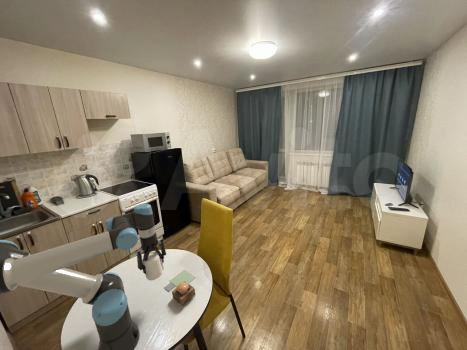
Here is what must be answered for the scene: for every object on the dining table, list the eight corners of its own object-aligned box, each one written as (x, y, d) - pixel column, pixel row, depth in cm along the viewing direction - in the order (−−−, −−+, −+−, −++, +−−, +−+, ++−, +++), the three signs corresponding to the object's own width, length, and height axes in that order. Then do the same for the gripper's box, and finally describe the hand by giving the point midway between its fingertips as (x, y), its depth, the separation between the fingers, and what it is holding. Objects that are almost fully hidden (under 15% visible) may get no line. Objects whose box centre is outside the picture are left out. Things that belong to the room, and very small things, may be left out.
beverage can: (165, 269, 104) (161, 250, 101) (158, 281, 97) (153, 262, 93) (151, 268, 105) (146, 250, 102) (143, 281, 98) (137, 262, 94)
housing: (182, 306, 98) (181, 299, 97) (172, 298, 103) (171, 291, 102) (195, 295, 104) (194, 288, 103) (185, 287, 109) (184, 281, 108)
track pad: (168, 291, 107) (168, 291, 107) (164, 287, 110) (164, 287, 110) (175, 286, 111) (175, 286, 110) (170, 282, 113) (170, 282, 113)
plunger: (183, 302, 99) (181, 293, 98) (176, 296, 103) (174, 287, 101) (192, 294, 104) (190, 285, 102) (185, 289, 108) (183, 280, 106)
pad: (180, 290, 108) (180, 289, 108) (169, 281, 115) (169, 280, 114) (195, 277, 116) (195, 277, 116) (184, 269, 123) (184, 269, 123)
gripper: (130, 247, 85) (139, 289, 91) (169, 227, 100) (175, 265, 106) (123, 241, 90) (132, 282, 96) (161, 223, 105) (167, 259, 111)
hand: (155, 273), depth 101 cm, fingers closed on beverage can, 7 cm apart
